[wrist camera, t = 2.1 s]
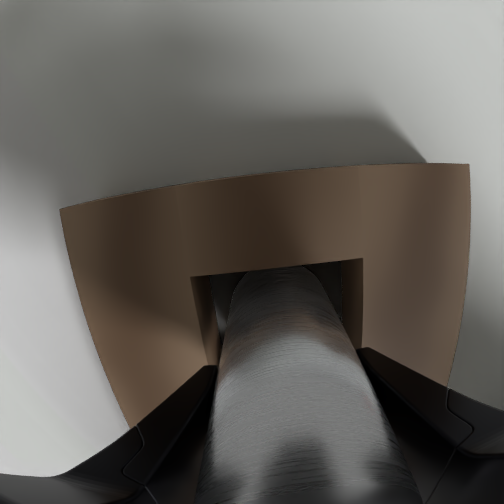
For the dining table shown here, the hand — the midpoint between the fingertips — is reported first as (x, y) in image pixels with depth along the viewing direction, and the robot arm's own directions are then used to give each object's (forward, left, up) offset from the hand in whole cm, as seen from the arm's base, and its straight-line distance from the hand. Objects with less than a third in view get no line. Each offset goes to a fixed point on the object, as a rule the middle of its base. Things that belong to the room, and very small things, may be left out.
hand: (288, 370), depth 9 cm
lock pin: (0, 0, -4) cm, 4 cm away
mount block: (0, +5, -4) cm, 7 cm away
